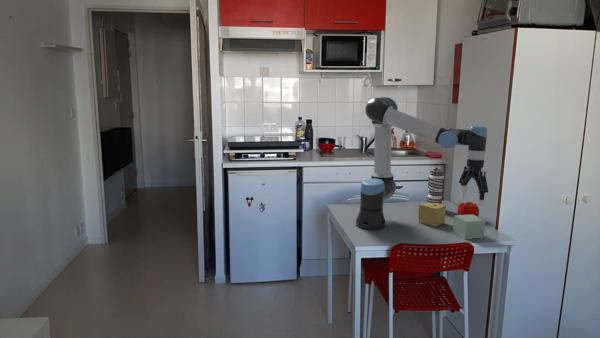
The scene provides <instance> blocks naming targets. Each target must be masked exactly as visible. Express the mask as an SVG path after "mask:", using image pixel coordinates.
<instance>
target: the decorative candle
mask: <svg viewBox="0 0 600 338" xmlns="http://www.w3.org/2000/svg"><path fill="white" fill-rule="evenodd" d="M429 170H430V171H429V176H428V177H427V178H428V179H427V180H428V181H427V182H428V184H427V185H428V186H427V191H428V194H427V197H426V203H438V204H443V191H444V186H445V185H444V183H445V181H446V180H445V170H444V168H443V167H441V166H432V167H431V168H430V169H429Z"/></svg>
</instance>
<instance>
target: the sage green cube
mask: <svg viewBox="0 0 600 338" xmlns="http://www.w3.org/2000/svg"><path fill="white" fill-rule="evenodd" d="M485 229H486V220H485V219H483V218H481V217H479V216H478V217H477V216H475V215H458V214H457V215H454V216H453V227H452V233H453V234H455V235H456V236H458V237H460V238H461V237H462V238H461V239H463V240H473V239H472V238H481V239H483V238H482V237H484V238H485Z"/></svg>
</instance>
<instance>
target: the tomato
mask: <svg viewBox="0 0 600 338" xmlns="http://www.w3.org/2000/svg"><path fill="white" fill-rule="evenodd" d="M456 213H457V215H475V216H477V217H479V215H480V208H479V206H477V202H476V203H475V202H471V201H466V202H465V203H464V202H461V203H459V204H458V207H457V212H456Z"/></svg>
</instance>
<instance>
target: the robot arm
mask: <svg viewBox="0 0 600 338" xmlns="http://www.w3.org/2000/svg"><path fill="white" fill-rule="evenodd" d="M398 109H399V108H398V104H397V102H396V101H395V100H394V99H393V98H391V97H387V96H381V97H374V98H371V99H370V100H368V102H367V103H366V106H365V114H366V116H367V118H368V119H370V120H371V124H372V125H373V126H374V155H373V156H374V161H373V162H374V163H373V164H374V165H373V166H374V167H373V170H374V171H373V172H372V173H371V174H370V175H371V177H370V178H367V179H364V180H363V181H361V184H360V199H359V200H360V201H359V202H360V203H359V204H360V205H359V212H358V213H357V216H356V219H355V225H356V226H357V227H359V228H360V229H363V230H372V231H373V230H374V231H376V230H377V231H378V230H383V229H385V228H386V226H387V225H386V219H385V214H384V201H386V200H388V199H390V198H392V197H393V195H394V194H395V193H396V190H397V184H396V181H395V180H394V177H395V176H394V174H393V173H392V169H391V168H392V164H391V163H392V127H395V128H397V129H401V130H403V131H405V132H408V133H410V134H414V135H416V136H418V137H420V138H423V139H425V140H428V141H431V142H433V143H436V144H438V145H439V146H440V147H442V148H444V149H451V148H454V147H456V146H468V147H467V148H468V149H467V160H466V166H464V167H463V171H462V173H461V176H460V178H459V180H458V183H459V184H460V186H461V188H460V189H461V190H460V200H464V199H467V197H468V196H467V193H468V184H469V182H470V181H471V179H473V180H474V181H475V183H476V186H477V188H478V193H477V200H476V204H477V206H478V207H483V206H484V200H485V194H486V193H487V194H488V193H489V188H488V182H487V178H486V177H487V176H486V175H487V174H486V173H487V172H486V171H482V169H483V168H484V166H485V160H484V159H485V154H486V147H487V139H488V135H487V134H488V128H487V127H486V126H484V125H471V126H470V128H469V129H462V128H461V129H460V128H453V127H450V128H449V127H447V128H444V127H442V126H439V125H436V124H434V123H431V122H428V121H425V120H424V119H421V118H419V117H415V116H414V115H410V114H407V113H405V112H402V111H400V110H398Z"/></svg>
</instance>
